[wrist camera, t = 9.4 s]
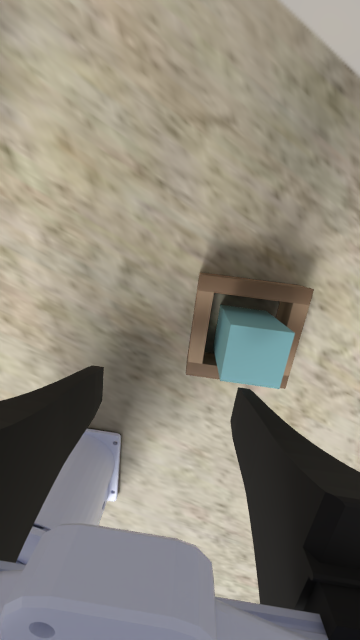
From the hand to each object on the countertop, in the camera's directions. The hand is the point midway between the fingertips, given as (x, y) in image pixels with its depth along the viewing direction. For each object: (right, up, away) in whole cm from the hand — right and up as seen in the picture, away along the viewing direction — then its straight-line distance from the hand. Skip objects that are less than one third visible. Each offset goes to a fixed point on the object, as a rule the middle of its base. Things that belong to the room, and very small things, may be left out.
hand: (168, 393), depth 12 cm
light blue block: (+6, +3, +8) cm, 11 cm away
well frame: (+6, +3, +8) cm, 11 cm away
